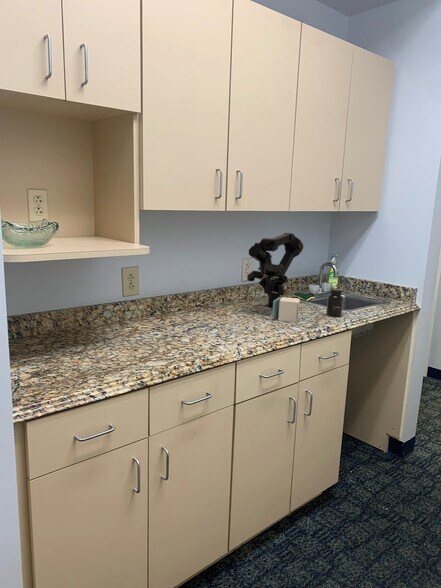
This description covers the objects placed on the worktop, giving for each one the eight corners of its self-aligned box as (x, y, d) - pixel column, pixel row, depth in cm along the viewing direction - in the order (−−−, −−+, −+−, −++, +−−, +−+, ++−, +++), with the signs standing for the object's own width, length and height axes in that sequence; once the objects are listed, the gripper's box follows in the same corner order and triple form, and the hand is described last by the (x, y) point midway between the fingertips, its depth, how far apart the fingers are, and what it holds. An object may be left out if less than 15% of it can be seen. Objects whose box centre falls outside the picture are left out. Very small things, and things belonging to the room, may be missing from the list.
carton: (280, 316, 202) (281, 297, 200) (298, 317, 200) (299, 298, 198) (278, 320, 193) (279, 300, 192) (297, 322, 191) (298, 302, 190)
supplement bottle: (335, 317, 203) (337, 291, 201) (323, 314, 208) (325, 289, 206) (344, 316, 207) (347, 290, 205) (332, 313, 212) (334, 287, 210)
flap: (276, 314, 203) (277, 297, 201) (280, 315, 202) (281, 297, 201) (270, 319, 194) (271, 300, 193) (273, 319, 194) (275, 301, 192)
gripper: (258, 253, 198) (262, 285, 192) (292, 259, 206) (297, 291, 200) (244, 264, 206) (248, 295, 200) (278, 269, 215) (282, 300, 209)
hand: (270, 295), depth 202 cm, fingers closed
